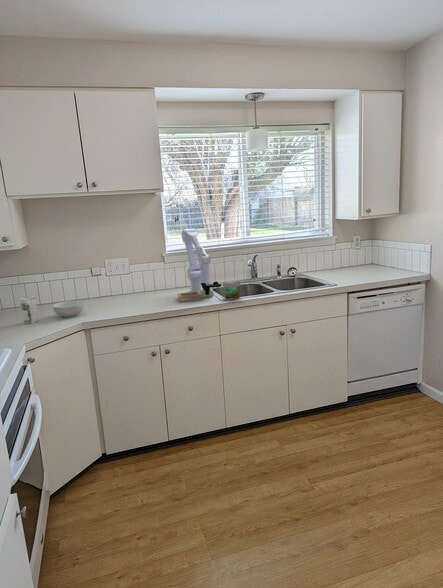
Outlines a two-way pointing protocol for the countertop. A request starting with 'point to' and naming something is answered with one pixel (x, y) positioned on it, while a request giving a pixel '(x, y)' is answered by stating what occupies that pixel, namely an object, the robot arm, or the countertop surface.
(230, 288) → the food container
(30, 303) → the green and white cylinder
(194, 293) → the box
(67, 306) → the cereal bowl
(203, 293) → the sage crate
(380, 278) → the countertop surface
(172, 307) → the countertop surface
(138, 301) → the countertop surface
